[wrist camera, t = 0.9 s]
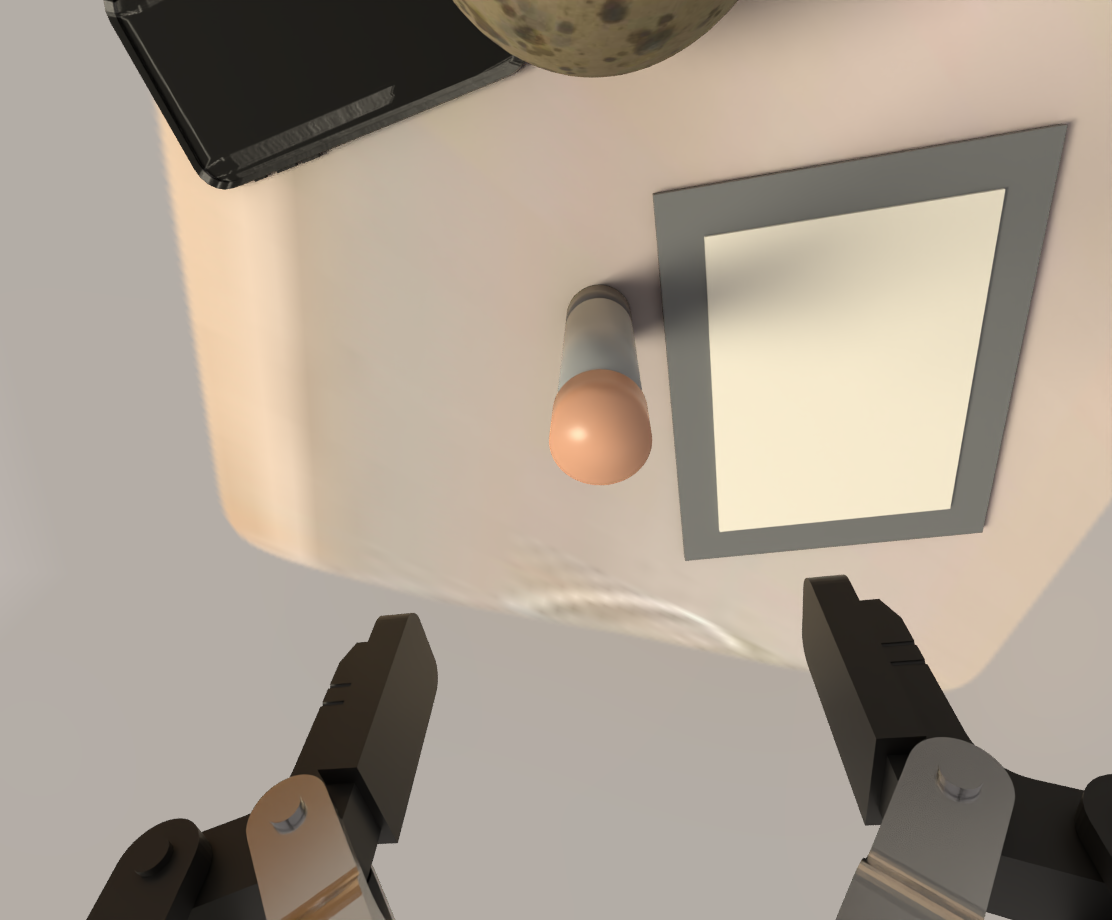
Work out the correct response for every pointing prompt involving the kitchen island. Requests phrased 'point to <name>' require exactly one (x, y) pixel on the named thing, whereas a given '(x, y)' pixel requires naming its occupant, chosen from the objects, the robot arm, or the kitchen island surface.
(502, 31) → the decorative egg
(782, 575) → the kitchen island surface
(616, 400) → the marker
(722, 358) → the writing mat
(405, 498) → the kitchen island surface
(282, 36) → the phone
